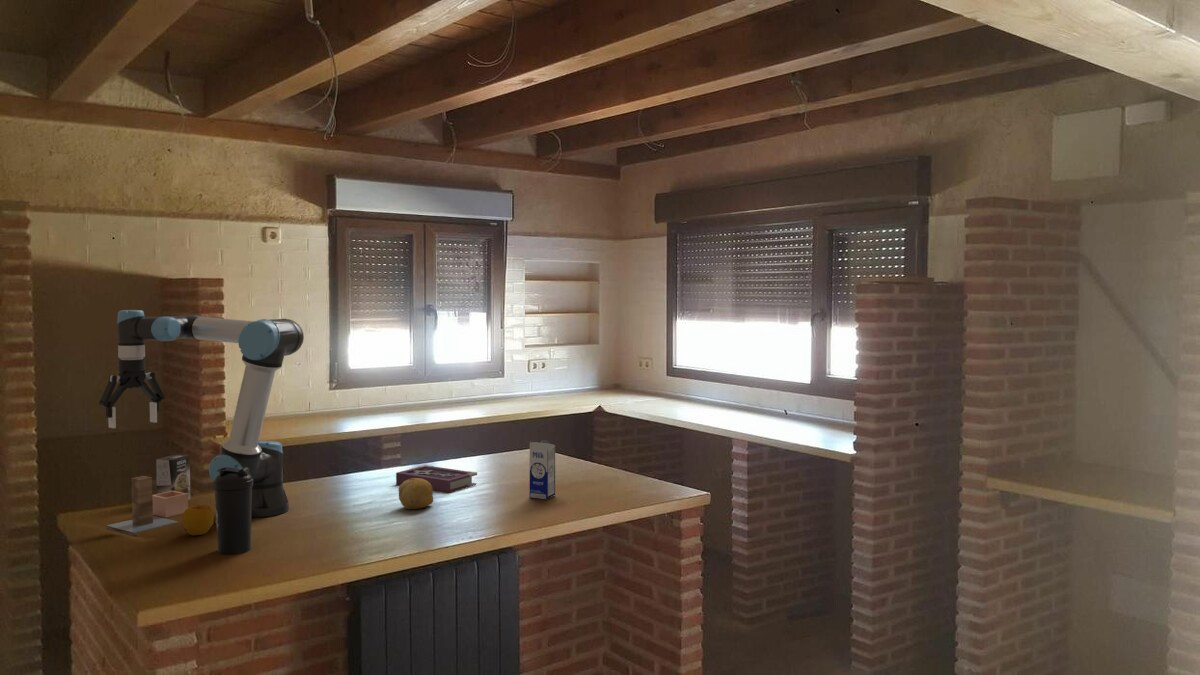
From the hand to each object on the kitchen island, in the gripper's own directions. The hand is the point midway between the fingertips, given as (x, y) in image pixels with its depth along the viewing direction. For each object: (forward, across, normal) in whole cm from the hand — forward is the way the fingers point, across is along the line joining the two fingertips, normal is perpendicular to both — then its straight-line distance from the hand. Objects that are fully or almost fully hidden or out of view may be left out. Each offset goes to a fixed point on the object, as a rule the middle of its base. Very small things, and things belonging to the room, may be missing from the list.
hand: (133, 425), depth 280 cm
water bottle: (+29, +8, +60) cm, 67 cm away
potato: (+29, -54, +70) cm, 93 cm away
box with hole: (+29, -4, +12) cm, 31 cm away
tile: (+29, +8, +17) cm, 34 cm away
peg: (+28, +8, +17) cm, 33 cm away
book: (+29, -84, +53) cm, 103 cm away
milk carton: (+29, -89, +97) cm, 135 cm away
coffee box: (+29, -14, -1) cm, 32 cm away
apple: (+29, +4, +38) cm, 48 cm away
